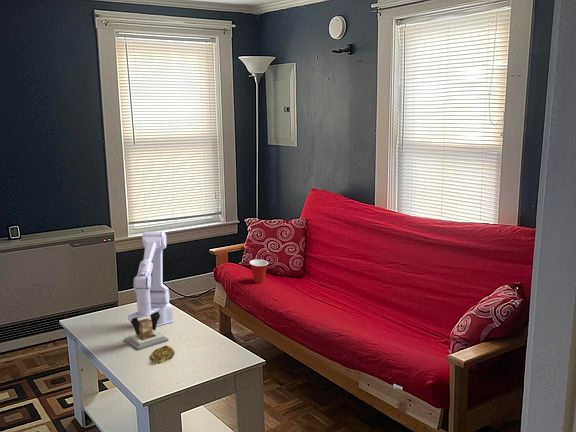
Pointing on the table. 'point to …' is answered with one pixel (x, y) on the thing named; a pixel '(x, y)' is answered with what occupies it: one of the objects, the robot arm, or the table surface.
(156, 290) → the robot arm
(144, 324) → the tan block
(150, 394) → the table surface
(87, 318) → the table surface
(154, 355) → the mottled brown rock
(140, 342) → the plate
